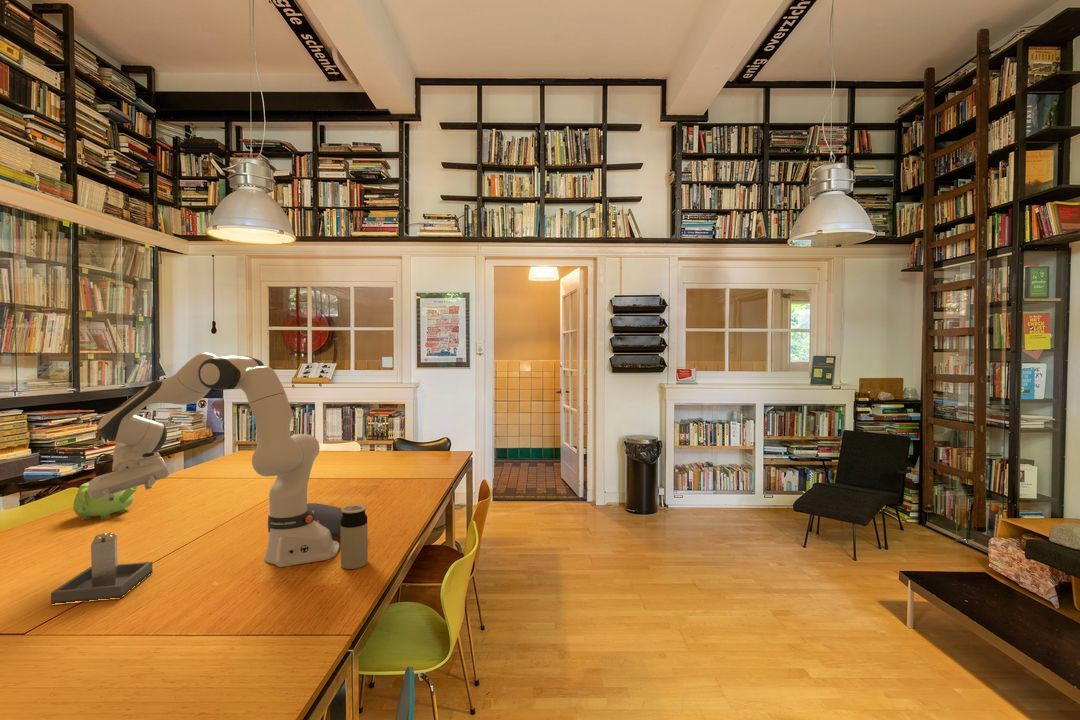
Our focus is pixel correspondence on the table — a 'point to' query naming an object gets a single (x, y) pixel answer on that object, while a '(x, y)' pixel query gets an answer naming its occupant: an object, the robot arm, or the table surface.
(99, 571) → the ball-topped square pillar
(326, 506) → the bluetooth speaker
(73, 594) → the charcoal bin
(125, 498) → the teapot
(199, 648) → the table surface
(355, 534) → the travel mug
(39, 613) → the table surface
